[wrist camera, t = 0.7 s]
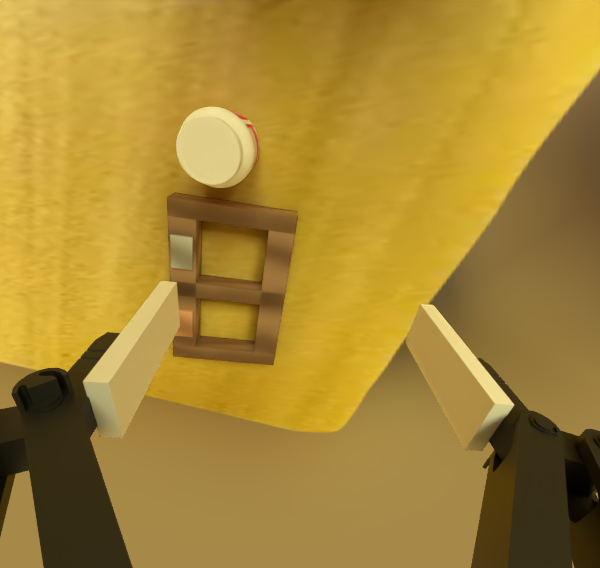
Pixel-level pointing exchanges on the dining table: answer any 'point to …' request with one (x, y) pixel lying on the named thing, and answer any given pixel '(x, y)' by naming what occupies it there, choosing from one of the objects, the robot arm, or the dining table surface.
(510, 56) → the dining table surface
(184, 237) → the socket board
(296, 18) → the dining table surface
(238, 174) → the pill bottle
